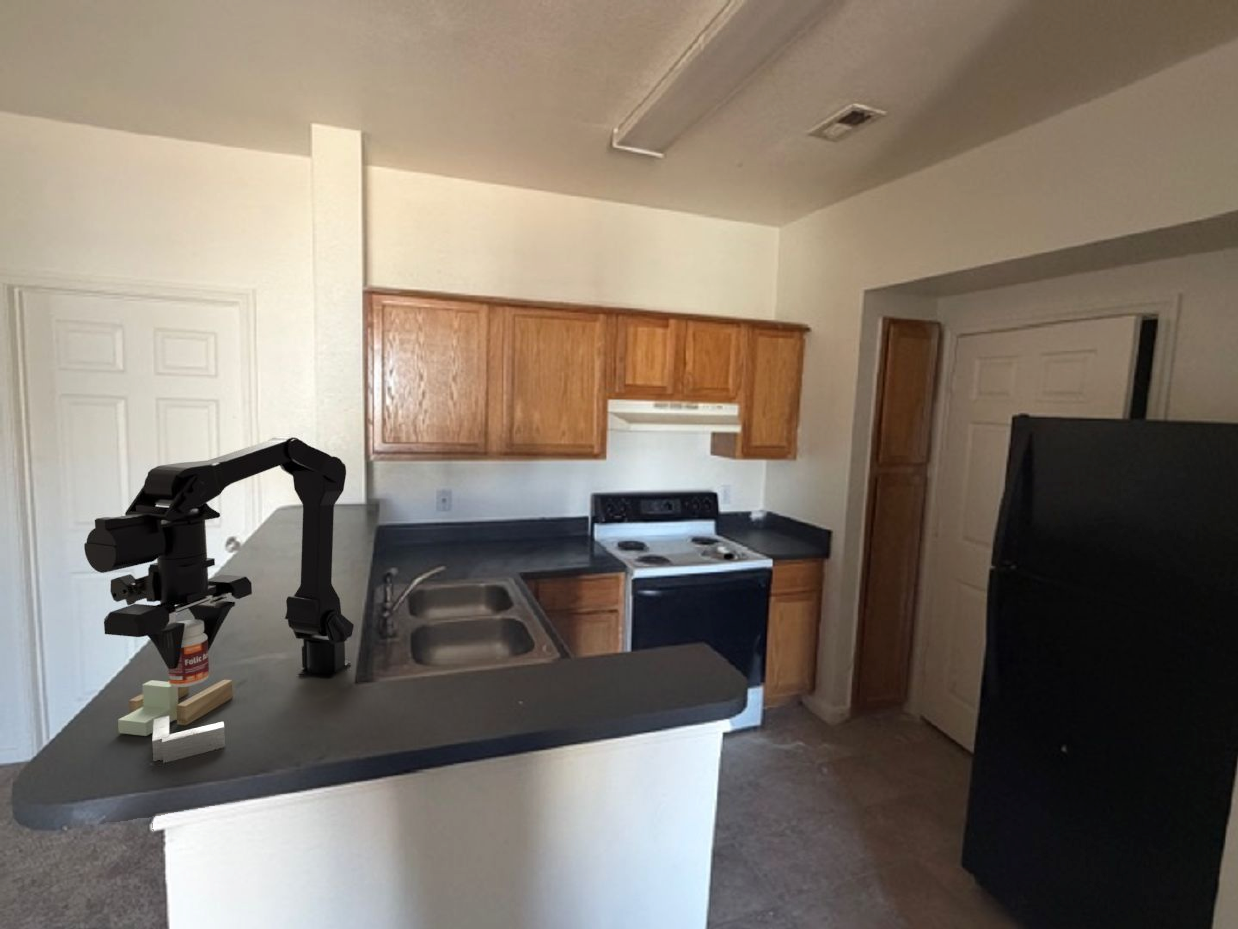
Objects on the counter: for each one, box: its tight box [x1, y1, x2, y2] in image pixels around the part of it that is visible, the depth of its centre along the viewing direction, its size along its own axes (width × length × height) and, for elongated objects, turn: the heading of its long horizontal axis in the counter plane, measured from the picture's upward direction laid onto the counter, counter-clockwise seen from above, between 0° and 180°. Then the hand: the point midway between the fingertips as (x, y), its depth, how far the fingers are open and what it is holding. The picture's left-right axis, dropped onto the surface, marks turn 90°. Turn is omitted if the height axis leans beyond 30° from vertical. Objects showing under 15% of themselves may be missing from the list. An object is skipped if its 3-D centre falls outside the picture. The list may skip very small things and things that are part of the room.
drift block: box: [117, 679, 179, 737], centre depth 90 cm, size 5×6×6 cm
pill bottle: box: [167, 619, 210, 687], centre depth 86 cm, size 5×5×8 cm
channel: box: [128, 679, 234, 726], centre depth 96 cm, size 10×9×3 cm
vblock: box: [151, 716, 226, 764], centre depth 84 cm, size 11×6×3 cm, turn 81°
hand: (188, 661), depth 86 cm, fingers closed on pill bottle, 5 cm apart
